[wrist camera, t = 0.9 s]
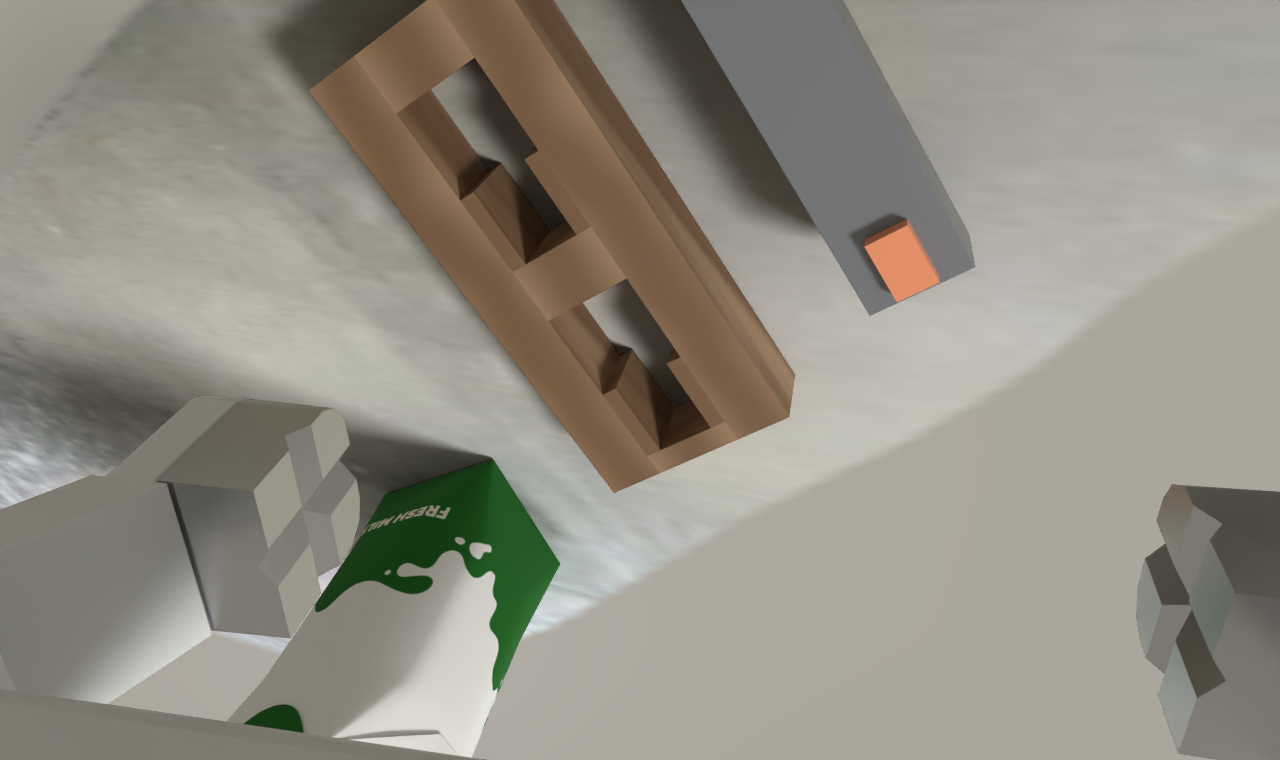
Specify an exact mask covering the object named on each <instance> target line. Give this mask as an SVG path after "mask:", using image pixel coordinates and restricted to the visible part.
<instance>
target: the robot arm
mask: <svg viewBox="0 0 1280 760" xmlns="http://www.w3.org/2000/svg"><path fill="white" fill-rule="evenodd" d="M349 445H350V442H349V438H348V433H347V429H346V425H345V420H344V417H343V416H342V415H341V414H340V413H338V412H337V411H336V410H335V409H334V408H326V407H317V406H308V405H299V404H290V403H281V402H272V401H263V400H254V399H248V400H246V399H244V398H236V397H223V396H211V395H206V396H199V397H193V398H192V399H191V400H190V401H189V402H188V403H187V404H186V405H185V406H183V407H182V408H181V409H180V410H179V411H178V412H177V413H176V414H174V415H173V416H172V417H171V418H170V419H169V420H168V421H167V422H166V423H164V424H163V425H162V426H161V427H160V428H159V429H158V430H157V431H156V432H154V433H153V434H152V435H151V436H150V437H149V438H148V439H147V440H146V441H144V442H143V443H142V444H141V445H140V446H139V447H138V448H137V449H136V450H134V451H133V452H132V453H131V454H130V455H129V456H128V457H127V458H125V459H124V460H123V461H122V462H121V463H120V464H119V465H118V466H117V467H115V468H114V469H113V470H112V471H111V472H110V473H109V474H108V475H107V476H105V477H104V476H93V475H91V476H89V477H86V478H83V479H81V480H78V481H75V482H73V483H70V484H67V485H65V486H62V487H59V488H57V489H54V490H52V491H49V492H46V493H44V494H41V495H38V496H36V497H33V498H30V499H28V500H25V501H22V502H20V503H17V504H15V505H12V506H9V507H7V508H4V509H1V510H0V760H485V759H478V758H471V757H464V756H457V755H450V754H443V753H437V752H430V751H423V750H416V749H409V748H402V747H396V746H389V745H382V744H375V743H368V742H362V741H355V740H348V739H341V738H334V737H327V736H321V735H314V734H307V733H300V732H293V731H287V730H280V729H273V728H266V727H259V726H252V725H246V724H239V723H232V722H225V721H218V720H211V719H204V718H198V717H191V716H184V715H177V714H170V713H164V712H157V711H150V710H143V709H136V708H130V707H123V706H116V705H109V704H108V703H109V702H111V701H112V700H114V699H116V698H117V697H119V696H120V695H122V694H123V693H125V692H126V691H127V690H129V689H130V688H132V687H134V686H135V685H137V684H138V683H140V682H141V681H143V680H144V679H145V678H147V677H149V676H150V675H152V674H153V673H155V672H156V671H158V670H159V669H161V668H162V667H164V666H165V665H167V664H168V663H170V662H171V661H173V660H174V659H176V658H177V657H179V656H180V655H182V654H183V653H185V652H186V651H188V650H189V649H191V648H193V647H194V646H196V645H197V644H199V643H200V642H202V641H203V640H204V639H206V638H208V637H209V636H211V635H212V631H211V630H213V631H223V632H233V633H243V634H253V635H263V636H273V637H283V638H291V637H292V635H293V634H294V633H295V631H296V630H297V628H298V627H299V625H300V624H301V622H302V621H303V619H304V618H305V616H306V615H307V613H308V612H309V610H310V609H311V607H312V606H313V605H314V603H315V602H316V600H317V599H318V597H319V596H320V594H321V591H320V586H319V582H318V576H320V575H322V574H324V573H326V572H328V571H329V570H331V569H333V568H335V567H337V566H339V565H340V564H341V563H342V561H343V560H344V558H345V556H346V555H347V553H348V552H349V550H350V549H351V547H352V545H353V541H354V538H355V534H356V531H357V527H358V524H359V520H360V496H359V490H358V484H357V479H356V478H355V477H354V476H353V475H352V473H351V472H350V471H349V470H348V469H347V468H346V467H345V466H344V465H343V463H342V462H341V461H340V459H341V457H342V456H343V454H344V453H345V451H346V450H347V448H348V446H349ZM1157 523H1158V526H1159V528H1160V531H1161V533H1162V536H1163V538H1164V541H1165V544H1164V545H1163V546H1161V547H1160V548H1159V549H1157V550H1156V551H1155V552H1154V553H1152V554H1151V555H1149V556H1148V557H1146V558H1145V561H1144V565H1143V569H1142V573H1141V577H1140V580H1139V584H1138V591H1137V610H1136V611H1137V612H1136V618H1137V625H1138V631H1139V638H1140V641H1141V645H1142V648H1143V651H1144V654H1145V658H1146V659H1148V660H1149V661H1150V662H1151V663H1152V664H1153V665H1155V666H1156V667H1157V668H1158V669H1159V670H1161V671H1162V672H1163V673H1164V678H1163V680H1162V684H1161V687H1160V690H1159V693H1158V697H1159V700H1160V703H1161V706H1162V709H1163V711H1164V715H1165V717H1166V720H1167V723H1168V726H1169V729H1170V732H1171V735H1172V738H1173V741H1174V744H1175V747H1176V750H1177V753H1178V754H1184V755H1190V756H1197V757H1203V758H1209V759H1216V760H1280V492H1275V491H1261V490H1247V489H1232V488H1218V487H1204V486H1190V485H1175V484H1172V485H1171V487H1170V488H1169V490H1168V492H1167V493H1166V495H1165V496H1164V498H1163V501H1162V504H1161V507H1160V510H1159V514H1158V517H1157Z"/></svg>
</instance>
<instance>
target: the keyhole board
mask: <svg viewBox="0 0 1280 760" xmlns="http://www.w3.org/2000/svg"><path fill="white" fill-rule="evenodd" d="M474 58H475V59H476V60H477V62H478V63H479V65H480V66H481V68H482V69H483V71H484V72H485V74H486V75H487V76H488V78H489V79H490V81H491V82H492V84H493V85H494V87H495V88H496V90H497V91H498V92H499V94H500V95H501V97H502V98H503V100H504V101H505V103H506V104H507V106H508V107H509V108H510V110H511V111H512V113H513V114H514V116H515V117H516V119H517V120H518V122H519V123H520V124H521V126H522V127H523V129H524V130H525V132H526V133H527V135H528V136H529V138H530V139H531V140H532V142H533V143H534V145H535V146H536V147H535V149H534V150H533V151H532V152H531V153H530V154H529V155H528V156H527V157H526V158H525V159H524V160H525V161H526V163H527V164H528V166H529V167H530V169H531V170H532V172H533V173H534V174H535V176H536V177H537V179H538V180H539V182H540V183H541V184H542V186H543V187H544V189H545V190H546V192H547V193H548V195H549V196H550V197H551V199H552V200H553V202H554V203H555V205H556V206H557V207H558V209H559V210H560V212H561V213H562V215H563V216H564V218H565V219H566V220H567V221H566V222H565V223H563V224H561V225H559V226H558V227H556V228H554V229H553V230H551V231H549V230H548V229H547V227H546V226H545V224H544V223H543V221H542V220H541V219H540V217H539V216H538V214H537V213H536V212H535V210H534V209H533V207H532V206H531V204H530V203H529V202H528V200H527V199H526V197H525V196H524V195H523V193H522V192H521V190H520V189H519V187H518V186H517V185H516V183H515V182H514V180H513V179H512V178H511V176H510V175H509V173H508V172H507V170H506V169H505V168H504V166H503V165H502V163H501V164H499V165H498V166H496V167H494V168H493V169H491V170H490V171H488V169H487V168H486V167H485V165H484V164H483V162H482V161H481V160H480V158H479V157H478V155H477V154H476V153H475V151H474V150H473V148H472V147H471V146H470V144H469V143H468V141H467V140H466V139H465V137H464V136H463V134H462V133H461V132H460V130H459V129H458V127H457V126H456V125H455V123H454V122H453V120H452V119H451V117H450V116H449V115H448V113H447V112H446V110H445V109H444V108H443V106H442V105H441V103H440V102H439V101H438V99H437V98H436V96H435V95H434V94H433V92H432V91H431V88H433V87H434V86H436V85H437V84H438V83H440V82H441V81H443V80H444V79H446V78H447V77H448V76H450V75H451V74H453V73H454V72H455V71H457V70H458V69H460V68H461V67H462V66H464V65H465V64H467V63H468V62H469V61H471V60H472V59H474ZM309 92H310V93H311V94H312V96H313V97H314V98H315V100H316V101H317V102H318V104H319V105H320V106H321V108H322V109H323V110H324V112H325V113H326V114H327V115H328V117H329V118H330V119H331V121H332V122H333V123H334V125H335V126H336V127H337V129H338V130H339V131H340V133H341V134H342V135H343V137H344V138H345V139H346V141H347V142H348V143H349V144H350V146H351V147H352V148H353V150H354V151H355V152H356V154H357V155H358V156H359V158H360V159H361V160H362V162H363V163H364V164H365V166H366V167H367V168H368V169H369V171H370V172H371V173H372V175H373V176H374V177H375V179H376V180H377V181H378V183H379V184H380V185H381V187H382V188H383V189H384V191H385V192H386V193H387V195H388V196H389V197H390V198H391V200H392V201H393V202H394V204H395V205H396V206H397V208H398V209H399V210H400V212H401V213H402V214H403V216H404V217H405V218H406V220H407V221H408V222H409V224H410V225H411V226H412V227H413V229H414V230H415V231H416V233H417V234H418V235H419V237H420V238H421V239H422V241H423V242H424V243H425V245H426V246H427V247H428V249H429V250H430V251H431V252H432V254H433V255H434V256H435V258H436V259H437V260H438V262H439V263H440V264H441V266H442V267H443V268H444V270H445V271H446V272H447V274H448V275H449V276H450V278H451V279H452V280H453V281H454V283H455V284H456V285H457V287H458V288H459V289H460V291H461V292H462V293H463V295H464V296H465V297H466V299H467V300H468V301H469V303H470V304H471V305H472V307H473V308H474V309H475V310H476V312H477V313H478V314H479V316H480V317H481V318H482V320H483V321H484V322H485V324H486V325H487V326H488V328H489V329H490V330H491V332H492V333H493V334H494V335H495V337H496V338H497V339H498V341H499V342H500V343H501V345H502V346H503V347H504V349H505V350H506V351H507V353H508V354H509V355H510V357H511V358H512V359H513V361H514V362H515V363H516V364H517V366H518V367H519V368H520V370H521V371H522V372H523V374H524V375H525V376H526V378H527V379H528V380H529V382H530V383H531V384H532V386H533V387H534V388H535V390H536V391H537V392H538V393H539V395H540V396H541V397H542V399H543V400H544V401H545V403H546V404H547V405H548V407H549V408H550V409H551V411H552V412H553V413H554V415H555V416H556V417H557V418H558V420H559V421H560V422H561V424H562V425H563V426H564V428H565V429H566V430H567V432H568V433H569V434H570V436H571V437H572V438H573V440H574V441H575V442H576V444H577V445H578V446H579V447H580V449H581V450H582V451H583V453H584V454H585V455H586V457H587V458H588V459H589V461H590V462H591V463H592V465H593V466H594V467H595V469H596V470H597V471H598V473H599V474H600V475H601V476H602V478H603V479H604V480H605V482H606V483H607V484H608V486H609V487H610V488H611V490H612V491H613V492H614V493H615V492H617V491H620V490H622V489H624V488H627V487H629V486H631V485H634V484H636V483H638V482H641V481H643V480H645V479H648V478H650V477H652V476H654V475H657V474H659V473H661V472H664V471H666V470H668V469H671V468H673V467H675V466H678V465H680V464H682V463H684V462H687V461H689V460H691V459H694V458H696V457H698V456H701V455H703V454H705V453H708V452H710V451H712V450H714V449H717V448H719V447H721V446H724V445H726V444H728V443H731V442H733V441H735V440H738V439H740V438H742V437H745V436H747V435H749V434H751V433H754V432H756V431H758V430H761V429H763V428H765V427H768V426H770V425H772V424H775V423H777V422H779V421H781V420H784V419H786V418H788V417H789V414H790V407H791V400H792V393H793V386H794V378H795V374H794V373H793V371H792V369H791V368H790V366H789V365H788V363H787V362H786V360H785V359H784V357H783V356H782V354H781V352H780V351H779V349H778V348H777V346H776V345H775V343H774V342H773V340H772V338H771V337H770V335H769V334H768V332H767V331H766V329H765V328H764V326H763V325H762V323H761V321H760V320H759V318H758V317H757V315H756V314H755V312H754V311H753V309H752V307H751V306H750V304H749V303H748V301H747V300H746V298H745V297H744V295H743V293H742V292H741V290H740V289H739V287H738V286H737V284H736V283H735V281H734V280H733V278H732V276H731V275H730V273H729V272H728V270H727V269H726V267H725V266H724V264H723V262H722V261H721V259H720V258H719V256H718V255H717V253H716V252H715V250H714V249H713V247H712V245H711V244H710V242H709V241H708V239H707V238H706V236H705V235H704V233H703V231H702V230H701V228H700V227H699V225H698V224H697V222H696V221H695V219H694V218H693V216H692V214H691V213H690V211H689V210H688V208H687V207H686V205H685V204H684V202H683V200H682V199H681V197H680V196H679V194H678V193H677V191H676V190H675V188H674V186H673V185H672V183H671V182H670V180H669V179H668V177H667V176H666V174H665V173H664V171H663V169H662V168H661V166H660V165H659V163H658V162H657V160H656V159H655V157H654V155H653V154H652V152H651V151H650V149H649V148H648V146H647V145H646V143H645V142H644V140H643V138H642V137H641V135H640V134H639V132H638V131H637V129H636V128H635V126H634V124H633V123H632V121H631V120H630V118H629V117H628V115H627V114H626V112H625V110H624V109H623V107H622V106H621V104H620V103H619V101H618V100H617V98H616V97H615V95H614V93H613V92H612V90H611V89H610V87H609V86H608V84H607V83H606V81H605V79H604V78H603V76H602V75H601V73H600V72H599V70H598V69H597V67H596V66H595V64H594V62H593V61H592V59H591V58H590V56H589V55H588V53H587V52H586V50H585V48H584V47H583V45H582V44H581V42H580V41H579V39H578V38H577V36H576V35H575V33H574V31H573V30H572V28H571V27H570V25H569V24H568V22H567V21H566V19H565V17H564V16H563V14H562V13H561V11H560V10H559V8H558V7H557V5H556V3H555V2H554V0H427V1H425V2H424V3H423V4H421V5H420V6H419V7H417V8H416V9H415V10H414V11H412V12H411V13H410V14H408V15H407V16H406V17H404V18H403V19H402V20H400V21H399V22H398V23H397V24H395V25H394V26H393V27H391V28H390V29H389V30H387V31H386V32H385V33H383V34H382V35H381V36H380V37H378V38H377V39H376V40H374V41H373V42H372V43H370V44H369V45H368V46H366V47H365V48H364V49H363V50H361V51H360V52H359V53H357V54H356V55H355V56H353V57H352V58H351V59H349V60H348V61H347V62H346V63H344V64H343V65H342V66H340V67H339V68H338V69H336V70H335V71H334V72H332V73H331V74H330V75H329V76H327V77H326V78H325V79H323V80H322V81H321V82H319V83H318V84H317V85H316V86H314V87H313V88H312V89H310V90H309ZM625 279H627V280H628V281H629V283H630V284H631V286H632V287H633V289H634V290H635V292H636V293H637V295H638V296H639V297H640V299H641V300H642V302H643V303H644V305H645V306H646V308H647V309H648V310H649V312H650V313H651V315H652V316H653V318H654V319H655V321H656V322H657V324H658V325H659V326H660V328H661V329H662V331H663V332H664V334H665V335H666V337H667V338H668V340H669V341H670V342H671V344H672V345H673V347H672V350H671V353H670V355H669V358H668V361H667V366H668V367H669V368H670V370H671V371H672V373H673V374H674V376H675V377H676V378H677V380H678V381H679V383H680V384H681V386H682V387H683V389H684V390H685V391H686V393H687V394H688V396H689V397H690V399H691V400H690V401H688V402H686V403H684V404H682V405H680V406H677V407H675V408H674V407H673V406H672V404H671V403H670V401H669V400H668V399H667V397H666V396H665V394H664V393H663V392H662V390H661V389H660V387H659V386H658V384H657V383H656V382H655V380H654V379H653V377H652V376H651V375H650V373H649V372H648V370H647V369H646V367H645V366H644V365H643V363H642V362H641V360H640V359H639V358H638V356H637V355H636V353H635V352H634V350H633V349H632V350H630V351H628V352H626V353H624V354H622V355H619V353H618V352H617V350H616V349H615V348H614V346H613V345H612V343H611V342H610V341H609V339H608V338H607V336H606V335H605V334H604V332H603V331H602V329H601V328H600V327H599V325H598V324H597V322H596V321H595V320H594V318H593V317H592V315H591V314H590V313H589V311H588V310H587V308H586V307H585V305H584V304H583V303H582V302H584V301H586V300H588V299H590V298H592V297H593V296H595V295H597V294H599V293H601V292H603V291H604V290H606V289H608V288H610V287H612V286H614V285H616V284H617V283H619V282H621V281H623V280H625Z"/></svg>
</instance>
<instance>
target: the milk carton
mask: <svg viewBox="0 0 1280 760" xmlns="http://www.w3.org/2000/svg"><path fill="white" fill-rule="evenodd" d="M559 565H560V563H559V561H558V560H557V558H556V557H555V555H554V553H553V552H552V550H551V549H550V547H549V546H548V544H547V542H546V541H545V539H544V538H543V536H542V535H541V533H540V532H539V530H538V528H537V527H536V525H535V524H534V522H533V521H532V519H531V518H530V516H529V514H528V513H527V511H526V510H525V508H524V507H523V505H522V503H521V502H520V500H519V499H518V497H517V496H516V494H515V493H514V491H513V489H512V488H511V486H510V485H509V483H508V482H507V480H506V479H505V477H504V475H503V474H502V472H501V471H500V469H499V468H498V466H497V464H496V463H495V461H494V460H493V459H491V460H488V461H485V462H482V463H479V464H476V465H473V466H470V467H467V468H464V469H461V470H458V471H455V472H452V473H449V474H446V475H443V476H440V477H437V478H434V479H431V480H428V481H425V482H422V483H419V484H416V485H412V486H409V487H406V488H403V489H400V490H397V491H394V492H391V493H388V494H385V496H384V497H383V499H382V501H381V502H380V504H379V506H378V508H377V509H376V511H375V513H374V514H373V516H372V518H371V519H370V521H369V523H368V525H367V526H366V528H365V530H364V531H363V533H362V535H361V536H360V538H359V540H358V541H357V543H356V544H355V546H354V547H353V549H352V550H351V552H350V553H349V555H348V556H347V558H346V559H345V561H344V562H343V564H342V565H341V567H340V568H339V570H338V571H337V573H336V574H335V576H334V577H333V579H332V580H331V582H330V583H329V584H328V586H327V587H326V589H325V590H324V592H323V593H322V595H321V596H320V598H319V599H318V601H317V602H316V604H315V605H314V607H313V608H312V610H311V611H310V613H309V614H308V616H307V617H306V618H305V620H304V621H303V623H302V624H301V626H300V627H299V629H298V630H297V632H296V633H295V635H294V636H293V638H292V639H291V641H290V642H289V644H288V645H287V647H286V648H285V649H284V651H283V652H282V654H281V655H280V657H279V658H278V660H277V661H276V663H275V664H274V666H273V667H272V668H271V670H270V672H269V673H268V674H267V675H266V677H265V678H264V680H263V681H262V682H261V683H260V685H258V687H257V688H256V689H255V690H254V691H253V692H252V693H251V695H250V696H249V697H248V698H247V699H246V700H245V701H244V702H243V703H242V705H241V706H240V707H239V708H238V709H237V710H236V711H235V712H234V714H233V715H232V716H231V717H230V718H229V719H228V720H227V721H226V722H232V723H239V724H246V725H252V726H259V727H266V728H273V729H280V730H287V731H293V732H300V733H307V734H314V735H321V736H327V737H334V738H341V739H348V740H355V741H362V742H368V743H375V744H382V745H389V746H396V747H402V748H409V749H416V750H423V751H430V752H437V753H443V754H450V755H457V756H464V757H471V758H472V755H473V753H474V750H475V748H476V745H477V743H478V741H479V738H480V736H481V733H482V731H483V728H484V726H485V723H486V721H487V719H488V716H489V714H490V711H491V709H492V706H493V704H494V702H495V699H496V697H497V694H498V692H499V689H500V687H501V685H502V682H503V679H504V677H505V675H506V672H507V670H508V668H509V665H510V663H511V660H512V658H513V656H514V653H515V651H516V648H517V646H518V644H519V641H520V639H521V637H522V635H523V634H524V632H525V630H526V628H527V626H528V624H529V622H530V620H531V618H532V616H533V615H534V613H535V611H536V609H537V607H538V605H539V603H540V601H541V599H542V597H543V595H544V594H545V592H546V590H547V588H548V586H549V584H550V582H551V580H552V578H553V577H554V575H555V573H556V571H557V569H558V567H559Z"/></svg>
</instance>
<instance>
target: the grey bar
mask: <svg viewBox="0 0 1280 760" xmlns="http://www.w3.org/2000/svg"><path fill="white" fill-rule="evenodd" d="M681 1H682V3H683V4H684V6H685V8H686V9H687V11H688V13H689V14H690V16H691V18H692V19H693V21H694V23H695V24H696V26H697V28H698V29H699V31H700V33H701V34H702V36H703V38H704V39H705V41H706V43H707V44H708V46H709V48H710V49H711V51H712V53H713V54H714V56H715V58H716V59H717V61H718V63H719V64H720V66H721V68H722V69H723V71H724V73H725V75H726V76H727V78H728V80H729V81H730V83H731V85H732V86H733V88H734V90H735V91H736V93H737V95H738V96H739V98H740V100H741V101H742V103H743V105H744V106H745V108H746V110H747V111H748V113H749V115H750V116H751V118H752V120H753V121H754V123H755V125H756V126H757V128H758V130H759V131H760V133H761V135H762V136H763V138H764V140H765V141H766V143H767V145H768V146H769V148H770V150H771V151H772V153H773V155H774V156H775V158H776V160H777V161H778V163H779V165H780V166H781V168H782V170H783V171H784V173H785V175H786V176H787V178H788V180H789V181H790V183H791V185H792V186H793V188H794V190H795V191H796V193H797V195H798V197H799V198H800V200H801V202H802V203H803V205H804V207H805V208H806V210H807V212H808V213H809V215H810V217H811V218H812V220H813V222H814V223H815V225H816V227H817V228H818V230H819V232H820V233H821V235H822V237H823V238H824V240H825V242H826V243H827V245H828V247H829V248H830V250H831V252H832V253H833V255H834V257H835V258H836V260H837V262H838V263H839V265H840V267H841V268H842V270H843V272H844V273H845V275H846V277H847V278H848V280H849V282H850V283H851V285H852V287H853V288H854V290H855V292H856V293H857V295H858V297H859V298H860V300H861V302H862V303H863V305H864V307H865V308H866V310H867V312H868V314H869V315H870V316H871V315H873V314H875V313H877V312H879V311H881V310H884V309H886V308H888V307H890V306H892V305H894V304H897V303H899V302H901V301H903V300H905V299H907V298H909V297H912V296H914V295H916V294H918V293H920V292H922V291H925V290H927V289H929V288H931V287H933V286H935V285H938V284H940V283H942V282H944V281H946V280H948V279H950V278H953V277H955V276H957V275H959V274H961V273H963V272H966V271H968V270H970V269H972V268H974V267H975V262H974V257H973V252H972V247H971V242H970V236H969V233H968V231H967V229H966V227H965V225H964V224H963V222H962V220H961V218H960V216H959V214H958V212H957V211H956V209H955V207H954V205H953V203H952V201H951V199H950V198H949V196H948V194H947V192H946V190H945V188H944V186H943V185H942V183H941V181H940V179H939V177H938V175H937V173H936V172H935V170H934V168H933V166H932V164H931V162H930V160H929V159H928V157H927V155H926V153H925V151H924V149H923V148H922V146H921V144H920V142H919V140H918V138H917V136H916V135H915V133H914V131H913V129H912V127H911V125H910V123H909V122H908V120H907V118H906V116H905V114H904V112H903V110H902V109H901V107H900V105H899V103H898V101H897V99H896V97H895V96H894V94H893V92H892V90H891V88H890V86H889V84H888V83H887V81H886V79H885V77H884V75H883V73H882V71H881V70H880V68H879V66H878V64H877V62H876V60H875V58H874V57H873V55H872V53H871V51H870V49H869V47H868V46H867V44H866V42H865V40H864V38H863V36H862V34H861V33H860V31H859V29H858V27H857V25H856V23H855V21H854V20H853V18H852V16H851V14H850V12H849V10H848V8H847V7H846V5H845V3H844V1H843V0H681Z"/></svg>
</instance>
